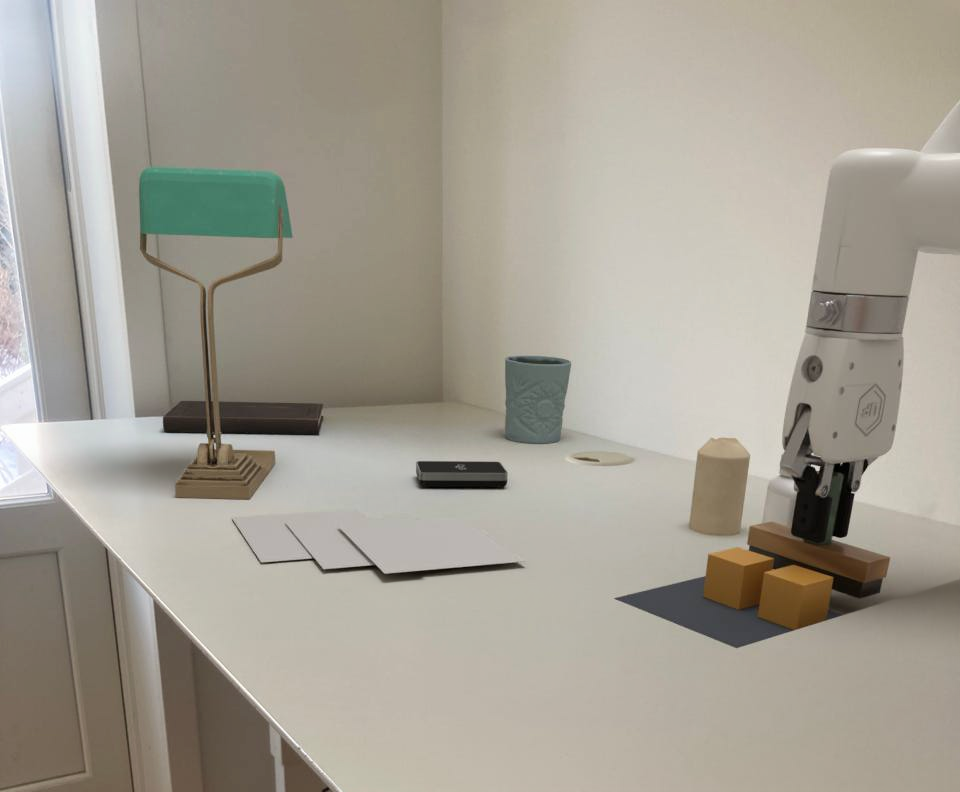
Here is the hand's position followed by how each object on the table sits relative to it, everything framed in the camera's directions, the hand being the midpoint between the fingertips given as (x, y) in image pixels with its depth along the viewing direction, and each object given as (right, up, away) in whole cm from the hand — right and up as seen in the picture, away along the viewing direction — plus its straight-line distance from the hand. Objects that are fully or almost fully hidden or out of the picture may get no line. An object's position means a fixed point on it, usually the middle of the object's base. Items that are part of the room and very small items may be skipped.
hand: (818, 534), depth 90 cm
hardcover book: (-66, +25, +72) cm, 101 cm away
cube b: (-7, -6, 0) cm, 9 cm away
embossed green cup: (-21, +22, +70) cm, 76 cm away
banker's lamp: (-61, +11, +38) cm, 72 cm away
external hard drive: (-32, +11, +40) cm, 52 cm away
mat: (-7, -7, -3) cm, 10 cm away
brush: (0, -4, +1) cm, 4 cm away
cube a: (-4, -8, -4) cm, 9 cm away
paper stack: (-41, +1, +14) cm, 43 cm away
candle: (-4, +3, +23) cm, 23 cm away
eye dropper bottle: (0, -1, +13) cm, 13 cm away
